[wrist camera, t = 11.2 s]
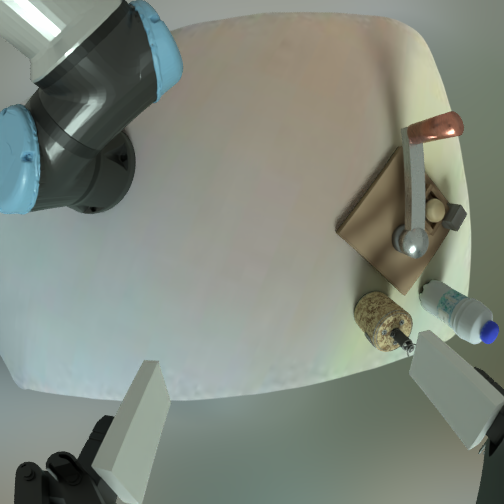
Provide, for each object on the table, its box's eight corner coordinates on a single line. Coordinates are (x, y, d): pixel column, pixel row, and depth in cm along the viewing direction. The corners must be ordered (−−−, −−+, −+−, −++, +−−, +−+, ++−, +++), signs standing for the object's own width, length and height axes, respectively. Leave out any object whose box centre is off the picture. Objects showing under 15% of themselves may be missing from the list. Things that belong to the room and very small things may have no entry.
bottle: (410, 295, 45) (476, 344, 26) (431, 269, 44) (503, 306, 25) (424, 314, 46) (485, 363, 27) (444, 289, 46) (510, 329, 26)
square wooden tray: (335, 232, 42) (347, 238, 37) (397, 147, 40) (414, 143, 34) (400, 293, 45) (416, 303, 40) (453, 215, 42) (471, 218, 37)
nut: (416, 210, 40) (429, 212, 37) (427, 193, 40) (440, 194, 36) (428, 225, 41) (441, 228, 37) (439, 208, 40) (452, 210, 37)
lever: (420, 254, 40) (466, 274, 28) (397, 256, 40) (442, 278, 28) (418, 128, 35) (465, 115, 23) (395, 124, 35) (440, 107, 23)
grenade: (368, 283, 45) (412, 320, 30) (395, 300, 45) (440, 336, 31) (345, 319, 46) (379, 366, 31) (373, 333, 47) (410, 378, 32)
